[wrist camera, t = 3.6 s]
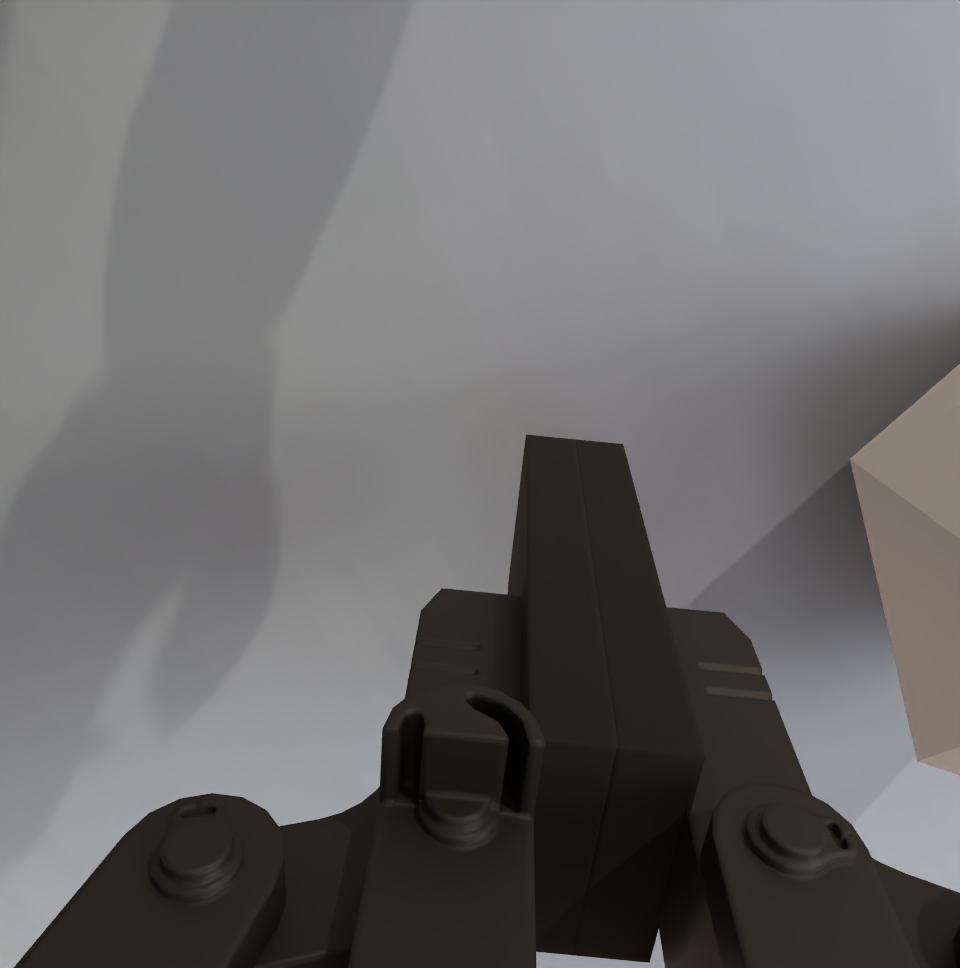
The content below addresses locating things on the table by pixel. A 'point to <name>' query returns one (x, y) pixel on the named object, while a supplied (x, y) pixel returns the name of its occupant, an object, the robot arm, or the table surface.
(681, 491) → the table surface
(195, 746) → the table surface
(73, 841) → the table surface
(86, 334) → the table surface
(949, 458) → the die
